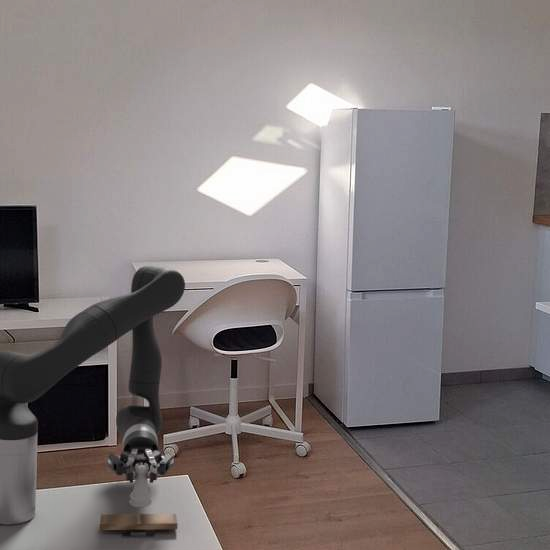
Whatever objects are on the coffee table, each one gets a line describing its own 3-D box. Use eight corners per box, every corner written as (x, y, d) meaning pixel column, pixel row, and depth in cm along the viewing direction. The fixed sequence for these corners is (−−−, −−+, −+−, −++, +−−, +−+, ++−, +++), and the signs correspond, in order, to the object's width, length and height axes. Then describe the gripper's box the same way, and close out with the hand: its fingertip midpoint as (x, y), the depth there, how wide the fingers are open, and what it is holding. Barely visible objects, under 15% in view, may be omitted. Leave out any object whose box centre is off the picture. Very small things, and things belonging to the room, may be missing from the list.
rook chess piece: (153, 499, 168) (154, 461, 167) (150, 509, 164) (151, 469, 162) (130, 498, 168) (131, 460, 167) (127, 508, 163) (128, 468, 162)
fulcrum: (122, 537, 162) (122, 533, 162) (122, 522, 169) (123, 519, 169) (154, 536, 163) (154, 533, 163) (153, 522, 170) (153, 518, 170)
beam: (99, 530, 162) (99, 524, 162) (100, 520, 167) (100, 514, 167) (177, 529, 165) (177, 523, 165) (175, 519, 170) (176, 513, 169)
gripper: (107, 429, 177) (105, 459, 160) (174, 429, 179) (179, 459, 163) (106, 463, 178) (103, 497, 161) (173, 462, 181) (177, 496, 164)
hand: (141, 477), depth 162 cm, fingers closed on rook chess piece, 3 cm apart
